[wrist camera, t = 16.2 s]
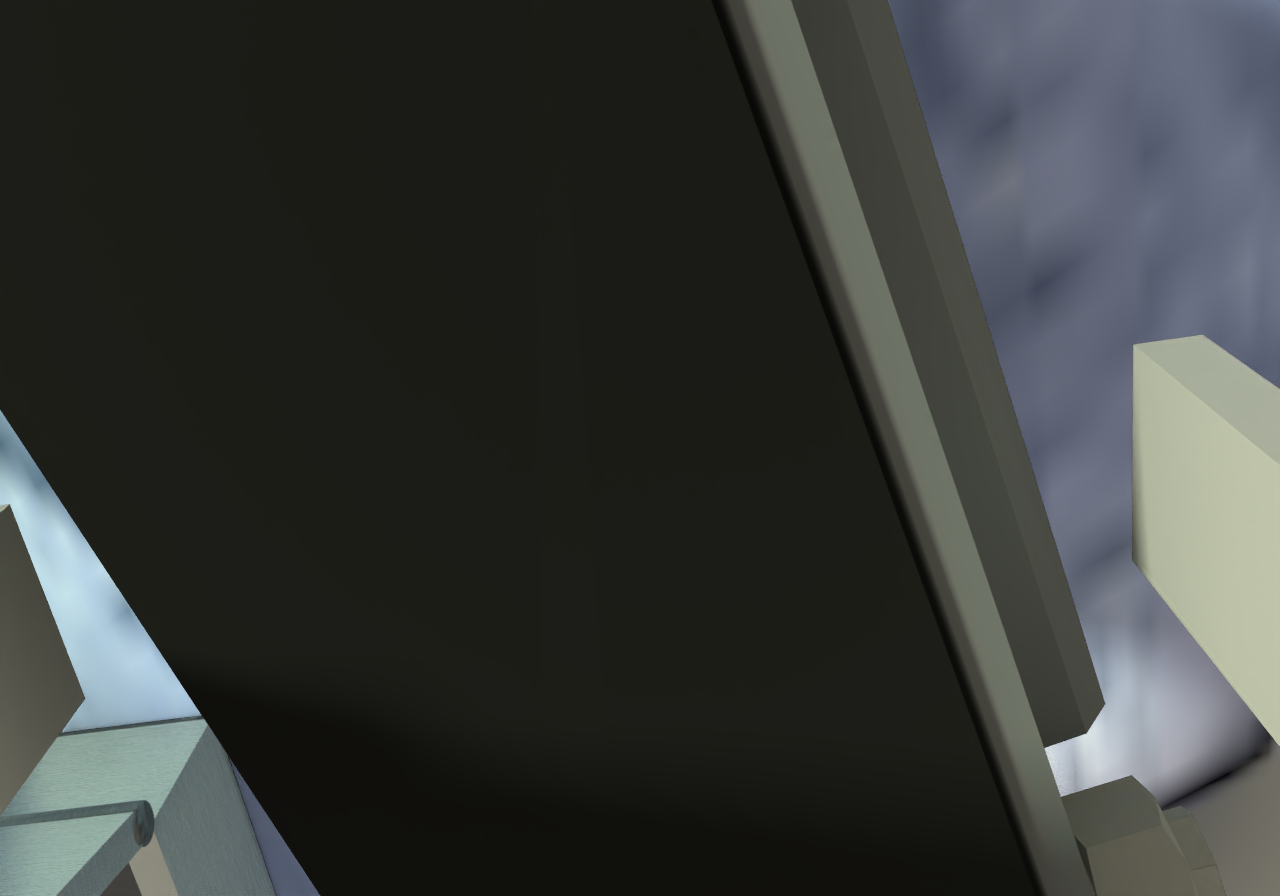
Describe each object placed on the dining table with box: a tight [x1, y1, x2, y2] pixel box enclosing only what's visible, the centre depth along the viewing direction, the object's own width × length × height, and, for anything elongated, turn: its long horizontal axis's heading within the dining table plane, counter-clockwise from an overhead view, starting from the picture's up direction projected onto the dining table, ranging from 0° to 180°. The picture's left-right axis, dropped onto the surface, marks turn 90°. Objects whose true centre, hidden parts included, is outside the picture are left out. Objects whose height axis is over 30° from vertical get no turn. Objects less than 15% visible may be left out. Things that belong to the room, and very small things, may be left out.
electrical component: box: [0, 0, 1226, 896], centre depth 21 cm, size 18×10×20 cm, turn 22°
